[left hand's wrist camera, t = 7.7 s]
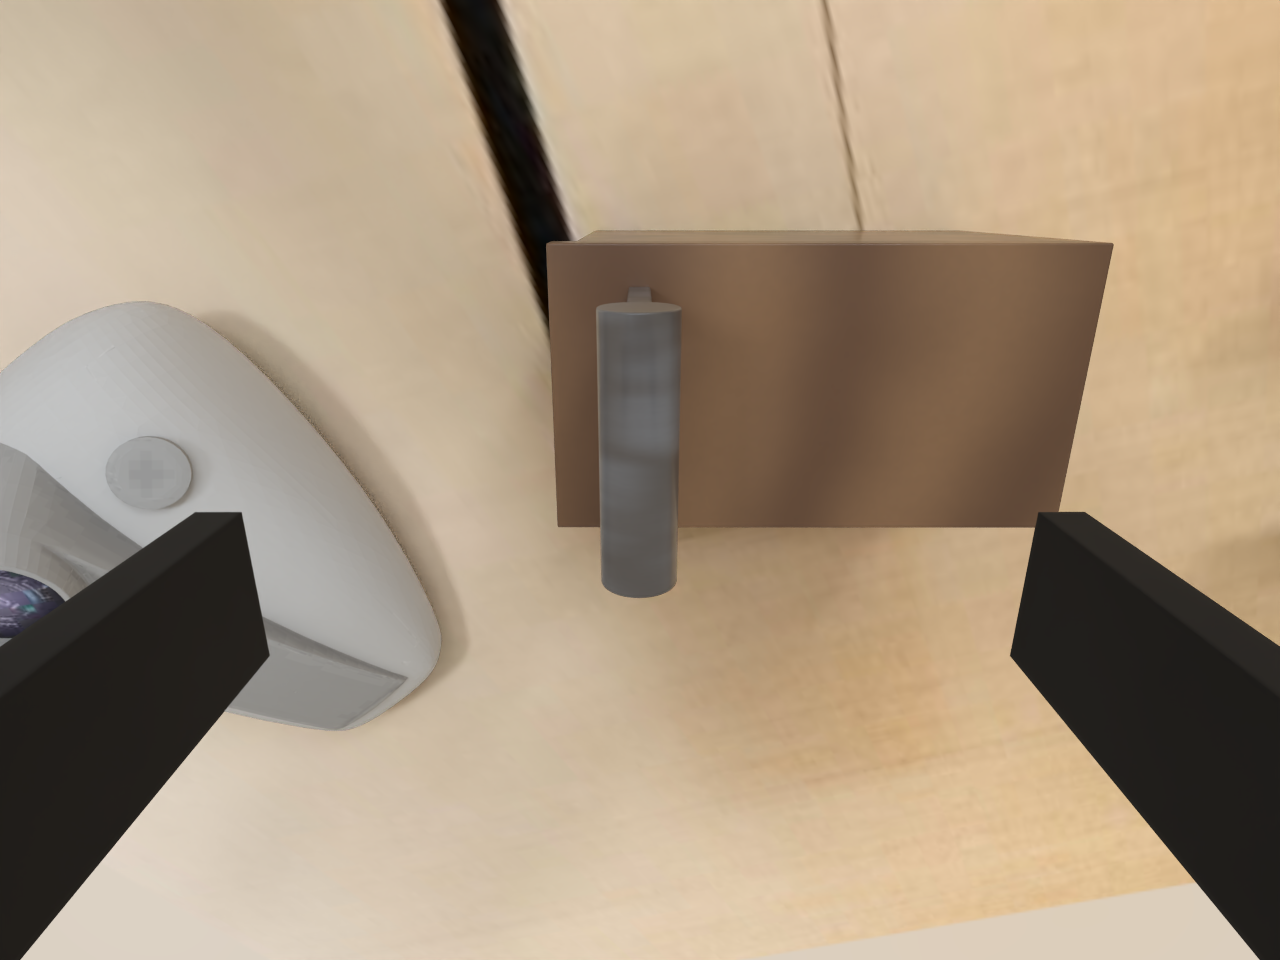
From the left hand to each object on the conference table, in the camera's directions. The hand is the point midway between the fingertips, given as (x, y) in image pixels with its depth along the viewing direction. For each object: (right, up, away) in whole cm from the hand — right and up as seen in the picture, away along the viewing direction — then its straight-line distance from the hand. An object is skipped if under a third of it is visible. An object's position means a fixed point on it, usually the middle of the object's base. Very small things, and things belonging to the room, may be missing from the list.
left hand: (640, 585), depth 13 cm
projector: (-20, -1, +28) cm, 34 cm away
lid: (+6, +5, +14) cm, 16 cm away
